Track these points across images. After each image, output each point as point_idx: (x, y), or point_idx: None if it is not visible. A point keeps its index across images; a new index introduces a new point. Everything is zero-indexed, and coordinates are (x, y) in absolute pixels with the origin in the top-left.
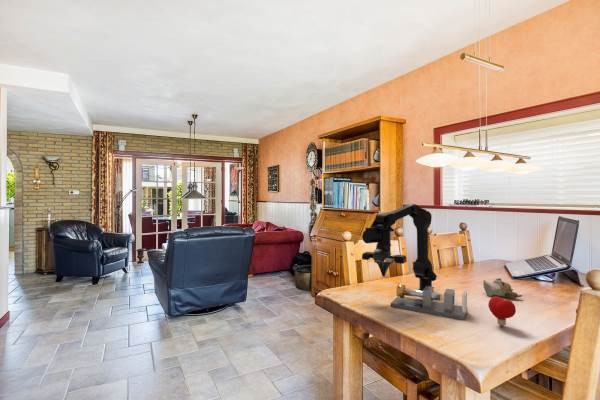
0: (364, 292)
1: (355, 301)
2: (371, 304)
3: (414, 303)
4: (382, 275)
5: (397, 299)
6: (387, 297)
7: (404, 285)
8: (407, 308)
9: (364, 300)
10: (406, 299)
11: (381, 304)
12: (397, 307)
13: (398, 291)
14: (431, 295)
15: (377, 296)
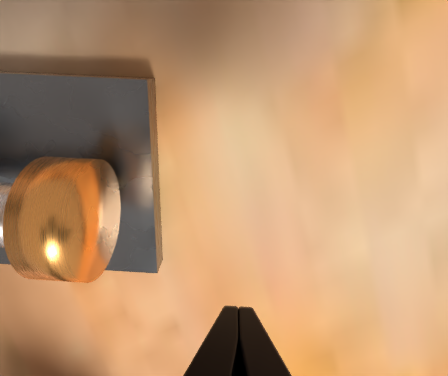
0: (399, 288)
1: (443, 58)
2: (301, 51)
3: (3, 162)
4: (252, 316)
5: (134, 192)
6: (233, 258)
7: (18, 268)
8: (25, 73)
9: (373, 122)
10: None
11: (230, 94)
12: (102, 76)
13: (65, 165)
14: None
15: (299, 249)
